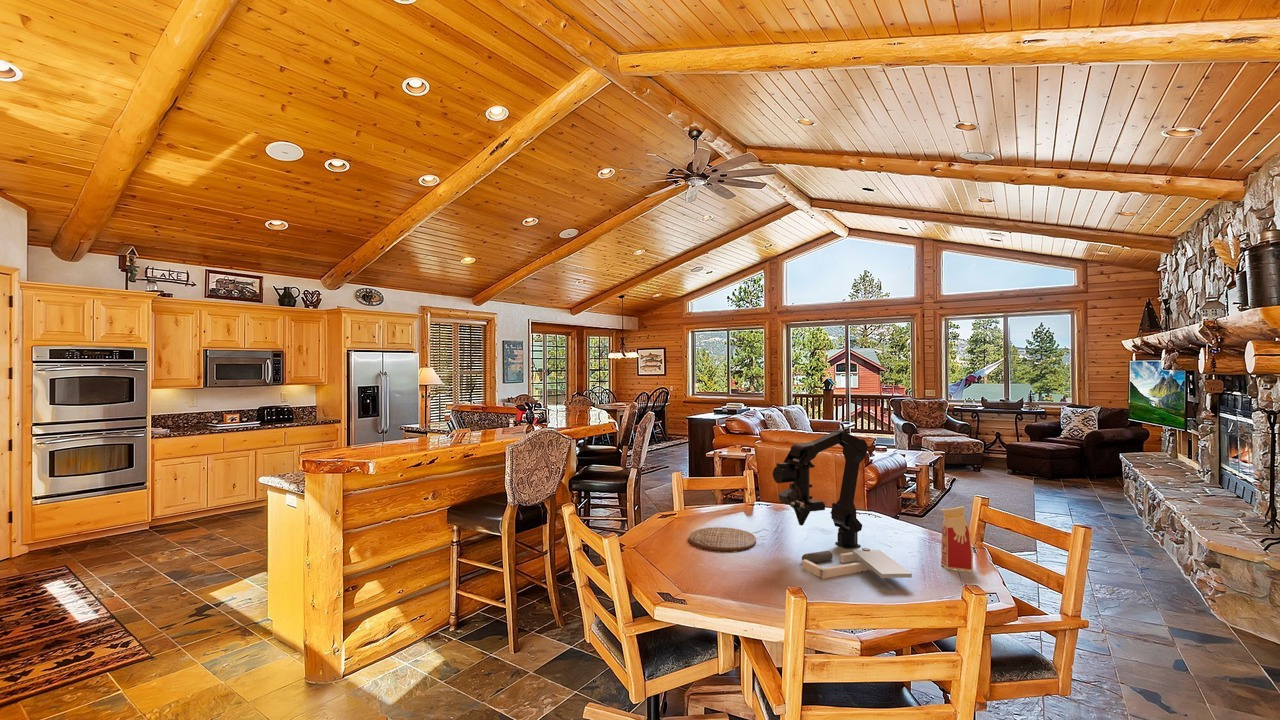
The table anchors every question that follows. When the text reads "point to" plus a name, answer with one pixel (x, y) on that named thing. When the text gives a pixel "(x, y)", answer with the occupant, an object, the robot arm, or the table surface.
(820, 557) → the grey capsule bar
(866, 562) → the cover
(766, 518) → the table surface
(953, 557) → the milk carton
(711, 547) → the trivet
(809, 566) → the long open tray
